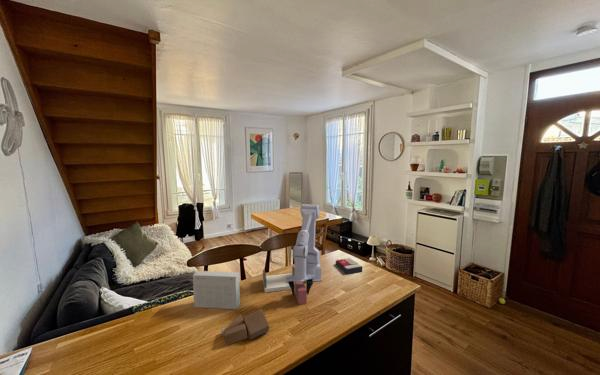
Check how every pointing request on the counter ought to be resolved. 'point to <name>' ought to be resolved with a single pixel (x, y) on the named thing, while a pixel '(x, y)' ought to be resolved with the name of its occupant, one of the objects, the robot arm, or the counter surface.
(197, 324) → the counter surface
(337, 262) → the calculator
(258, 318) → the wooden block
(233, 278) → the skincare box
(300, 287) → the burgundy book
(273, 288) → the grey open rack
